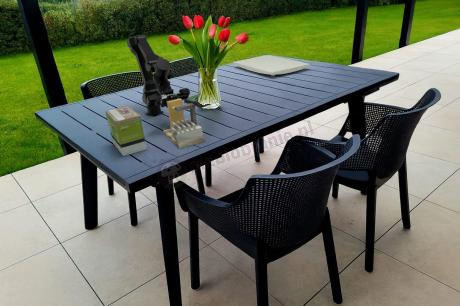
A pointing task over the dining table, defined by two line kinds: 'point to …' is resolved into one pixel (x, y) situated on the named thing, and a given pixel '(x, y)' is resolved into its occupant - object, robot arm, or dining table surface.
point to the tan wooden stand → (185, 129)
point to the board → (271, 65)
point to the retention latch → (175, 112)
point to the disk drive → (195, 101)
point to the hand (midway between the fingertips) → (175, 114)
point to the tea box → (126, 130)
